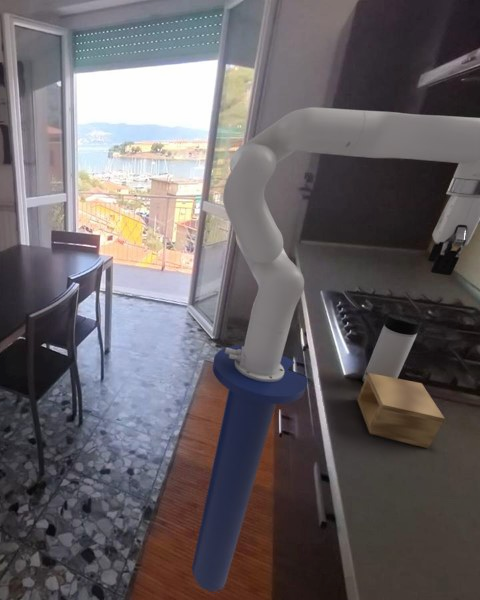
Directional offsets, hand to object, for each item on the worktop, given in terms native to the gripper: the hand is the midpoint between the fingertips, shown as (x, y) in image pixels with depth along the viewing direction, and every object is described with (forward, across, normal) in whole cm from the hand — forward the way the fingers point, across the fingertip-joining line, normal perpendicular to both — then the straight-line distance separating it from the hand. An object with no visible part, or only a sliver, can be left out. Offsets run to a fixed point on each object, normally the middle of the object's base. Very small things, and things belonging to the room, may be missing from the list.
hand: (438, 267), depth 79 cm
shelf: (+32, +17, +1) cm, 37 cm away
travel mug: (+32, +2, -2) cm, 32 cm away
